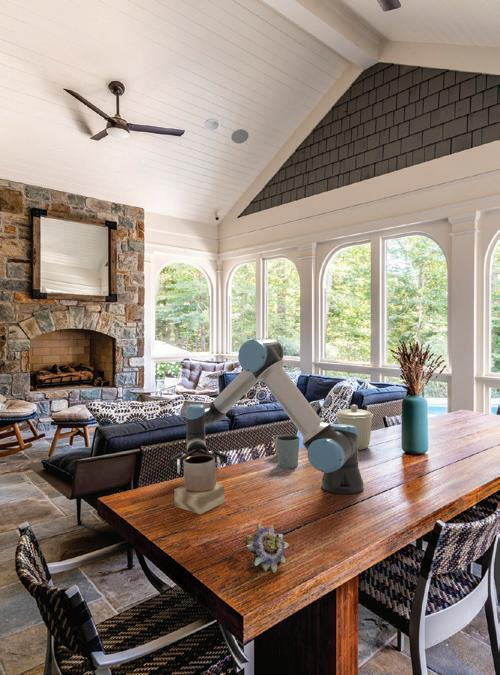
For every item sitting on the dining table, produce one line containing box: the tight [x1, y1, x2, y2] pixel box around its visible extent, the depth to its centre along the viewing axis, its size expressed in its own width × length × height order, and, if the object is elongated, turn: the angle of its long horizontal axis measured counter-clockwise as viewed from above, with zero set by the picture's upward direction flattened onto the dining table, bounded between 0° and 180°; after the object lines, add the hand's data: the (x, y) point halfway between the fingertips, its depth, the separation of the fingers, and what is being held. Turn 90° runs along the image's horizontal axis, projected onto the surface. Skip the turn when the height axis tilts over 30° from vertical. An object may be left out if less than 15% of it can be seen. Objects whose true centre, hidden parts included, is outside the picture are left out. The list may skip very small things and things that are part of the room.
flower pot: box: [272, 434, 283, 457], centre depth 206 cm, size 9×9×9 cm
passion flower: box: [242, 523, 290, 574], centre depth 111 cm, size 11×11×12 cm
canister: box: [335, 404, 374, 451], centre depth 217 cm, size 18×18×21 cm
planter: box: [182, 455, 217, 492], centre depth 151 cm, size 11×11×10 cm
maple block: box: [173, 483, 226, 515], centre depth 151 cm, size 12×12×6 cm
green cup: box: [276, 434, 300, 469], centre depth 192 cm, size 10×10×12 cm
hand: (199, 467), depth 147 cm, fingers open, 13 cm apart
